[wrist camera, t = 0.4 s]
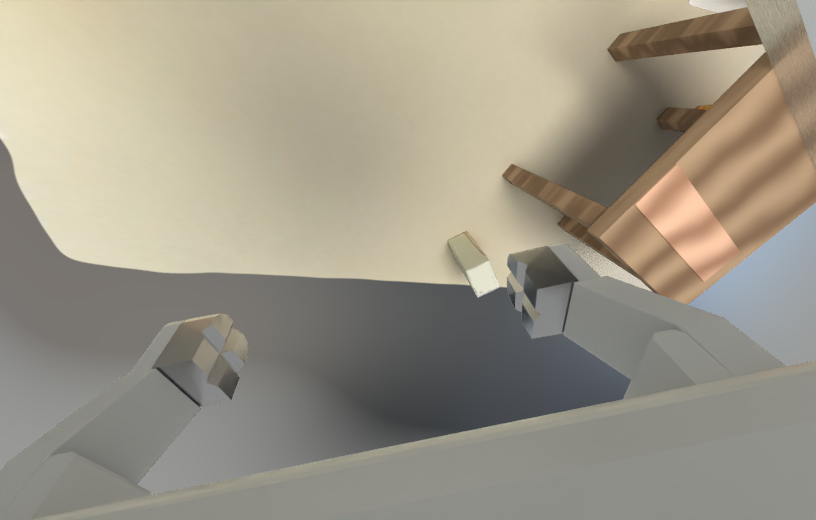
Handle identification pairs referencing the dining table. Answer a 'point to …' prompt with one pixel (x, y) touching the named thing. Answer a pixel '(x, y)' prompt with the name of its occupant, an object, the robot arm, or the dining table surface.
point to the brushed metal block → (792, 57)
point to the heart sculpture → (718, 5)
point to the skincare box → (474, 264)
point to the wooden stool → (698, 172)
